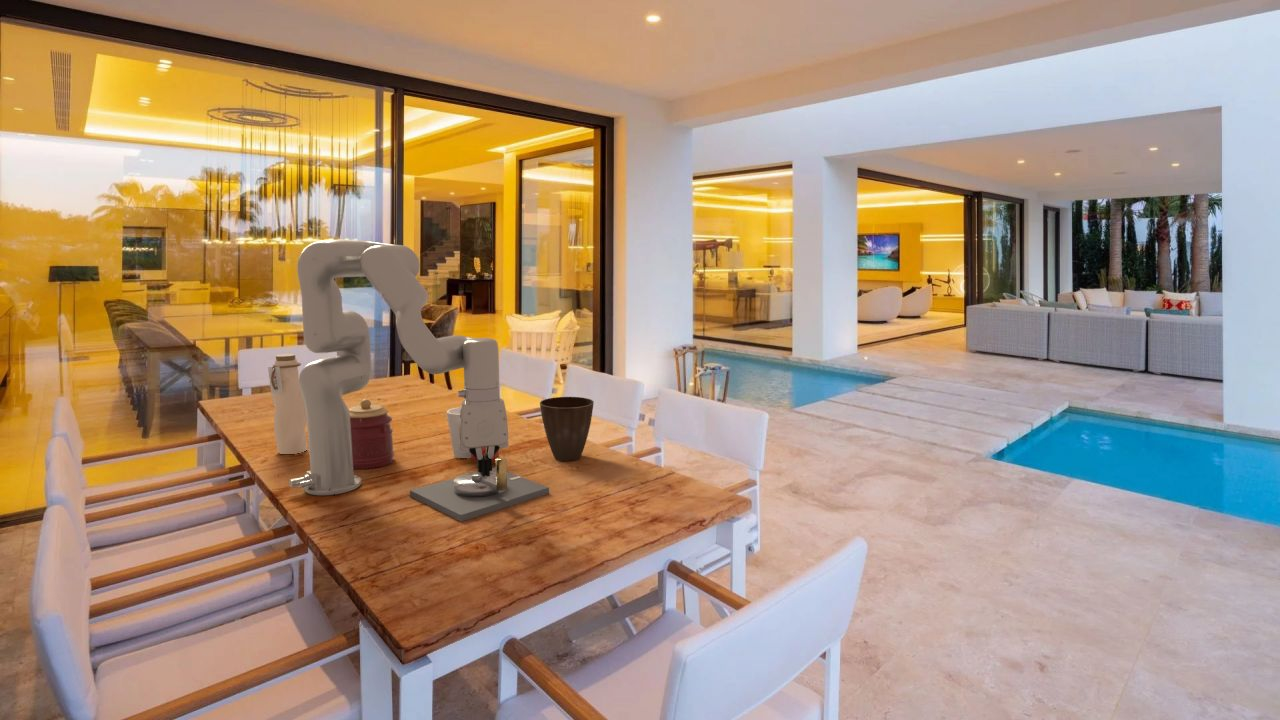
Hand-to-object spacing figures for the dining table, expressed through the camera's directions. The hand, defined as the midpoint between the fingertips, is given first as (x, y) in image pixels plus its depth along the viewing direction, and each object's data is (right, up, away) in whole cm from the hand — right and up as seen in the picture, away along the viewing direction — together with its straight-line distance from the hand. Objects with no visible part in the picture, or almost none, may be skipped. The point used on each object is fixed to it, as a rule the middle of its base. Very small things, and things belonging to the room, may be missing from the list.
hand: (484, 474), depth 151 cm
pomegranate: (-7, -3, +32) cm, 33 cm away
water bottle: (-65, -1, +42) cm, 78 cm away
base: (-3, -6, +9) cm, 12 cm away
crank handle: (-2, -5, +7) cm, 9 cm away
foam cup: (-15, -2, +40) cm, 43 cm away
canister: (-39, -3, +33) cm, 52 cm away
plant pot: (+14, -2, +39) cm, 42 cm away
